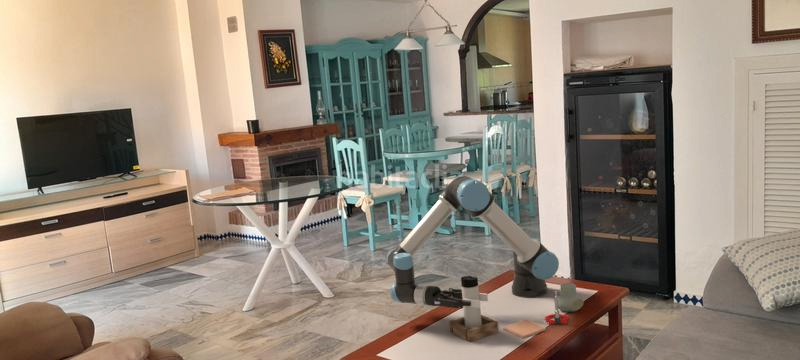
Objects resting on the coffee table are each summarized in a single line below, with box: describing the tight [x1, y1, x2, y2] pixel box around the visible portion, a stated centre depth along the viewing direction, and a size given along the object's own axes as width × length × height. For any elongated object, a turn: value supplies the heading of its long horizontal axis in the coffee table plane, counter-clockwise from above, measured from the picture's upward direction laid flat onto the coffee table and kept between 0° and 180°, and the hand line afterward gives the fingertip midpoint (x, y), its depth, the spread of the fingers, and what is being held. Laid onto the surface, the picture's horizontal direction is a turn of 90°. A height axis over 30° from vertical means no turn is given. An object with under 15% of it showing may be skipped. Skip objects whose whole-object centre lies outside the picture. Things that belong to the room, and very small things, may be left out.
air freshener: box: [557, 282, 584, 313], centre depth 253 cm, size 11×8×10 cm
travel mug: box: [460, 275, 482, 329], centre depth 238 cm, size 6×7×20 cm
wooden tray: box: [448, 314, 499, 343], centre depth 240 cm, size 13×13×4 cm
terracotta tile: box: [502, 319, 547, 339], centre depth 237 cm, size 11×11×1 cm
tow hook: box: [545, 290, 569, 325], centre depth 243 cm, size 8×13×9 cm
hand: (483, 300), depth 235 cm, fingers closed on travel mug, 6 cm apart
